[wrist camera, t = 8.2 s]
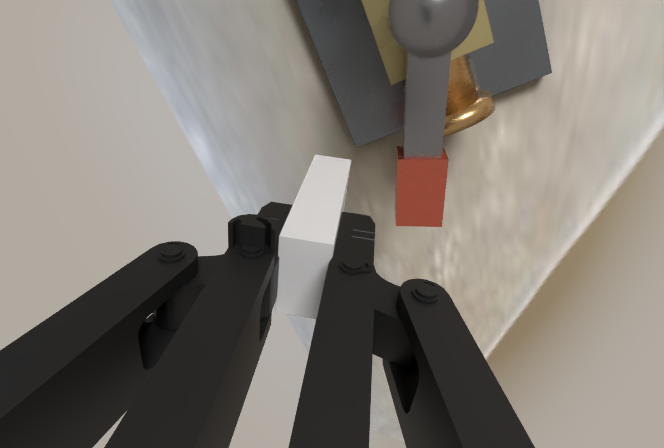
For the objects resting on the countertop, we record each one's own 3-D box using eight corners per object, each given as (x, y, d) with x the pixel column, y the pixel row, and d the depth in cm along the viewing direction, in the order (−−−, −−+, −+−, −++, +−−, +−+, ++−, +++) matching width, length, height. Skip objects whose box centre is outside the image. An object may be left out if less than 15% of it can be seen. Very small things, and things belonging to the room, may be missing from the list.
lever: (389, -35, 20) (389, -40, 18) (474, -39, 19) (485, -46, 17) (383, 208, 26) (383, 225, 24) (448, 208, 25) (454, 227, 23)
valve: (277, -53, 28) (230, -81, 20) (498, -177, 24) (561, -282, 15) (357, 143, 34) (347, 188, 25) (546, 70, 30) (611, 94, 21)
